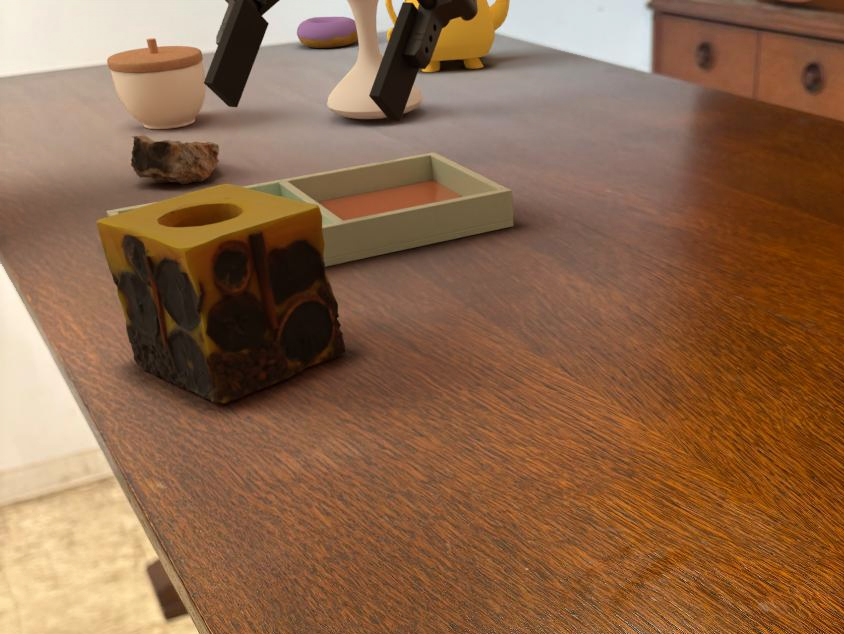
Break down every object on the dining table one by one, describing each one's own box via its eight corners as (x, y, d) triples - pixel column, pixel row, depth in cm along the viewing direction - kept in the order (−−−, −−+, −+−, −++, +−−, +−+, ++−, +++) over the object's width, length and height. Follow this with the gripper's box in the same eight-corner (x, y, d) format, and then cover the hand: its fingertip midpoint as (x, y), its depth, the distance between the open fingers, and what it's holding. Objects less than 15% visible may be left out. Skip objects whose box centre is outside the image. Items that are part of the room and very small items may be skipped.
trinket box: (191, 108, 137) (175, 27, 132) (230, 122, 130) (213, 37, 125) (109, 124, 132) (88, 40, 127) (144, 139, 125) (124, 51, 120)
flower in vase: (385, 100, 137) (358, -132, 123) (443, 112, 130) (422, -132, 116) (298, 121, 130) (260, -124, 116) (356, 135, 123) (322, -124, 109)
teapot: (387, 60, 160) (377, -38, 153) (521, 50, 163) (516, -46, 155) (393, 78, 149) (382, -26, 142) (536, 67, 151) (532, -36, 144)
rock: (201, 191, 106) (244, 145, 113) (168, 134, 103) (215, 90, 109) (133, 209, 110) (179, 163, 116) (99, 154, 106) (149, 111, 113)
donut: (295, 48, 169) (290, 14, 167) (302, 52, 177) (298, 19, 176) (359, 45, 169) (355, 10, 167) (364, 48, 178) (360, 15, 176)
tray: (115, 246, 93) (106, 210, 91) (437, 184, 105) (434, 151, 103) (157, 302, 81) (147, 262, 80) (513, 226, 93) (511, 190, 92)
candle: (349, 355, 72) (327, 205, 66) (221, 411, 66) (185, 250, 60) (258, 320, 78) (230, 178, 72) (132, 368, 72) (91, 217, 66)
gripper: (587, -142, 71) (486, 149, 69) (290, -132, 82) (194, 121, 79) (546, -242, 65) (433, 77, 62) (228, -218, 75) (121, 56, 73)
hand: (299, 102), depth 71 cm, fingers open, 13 cm apart
